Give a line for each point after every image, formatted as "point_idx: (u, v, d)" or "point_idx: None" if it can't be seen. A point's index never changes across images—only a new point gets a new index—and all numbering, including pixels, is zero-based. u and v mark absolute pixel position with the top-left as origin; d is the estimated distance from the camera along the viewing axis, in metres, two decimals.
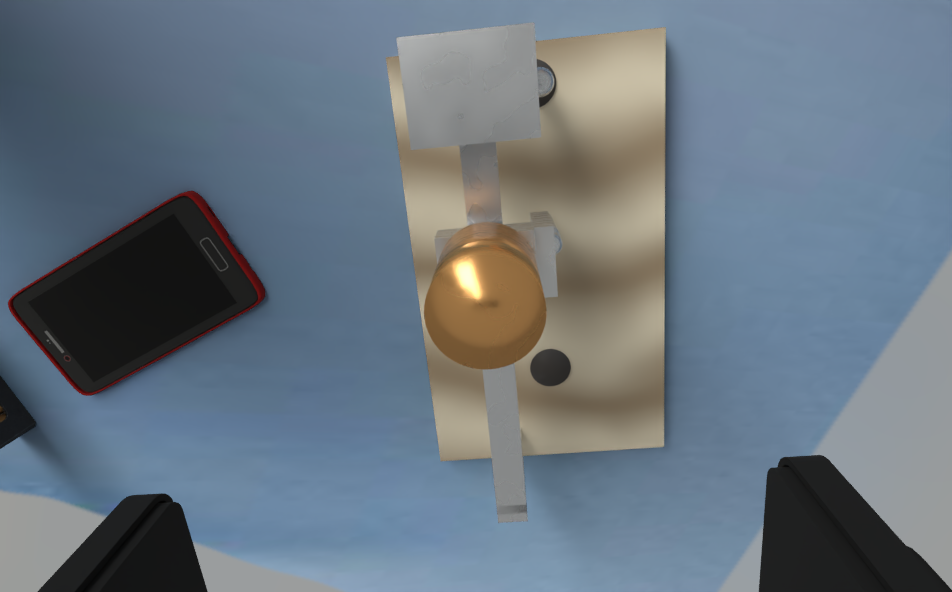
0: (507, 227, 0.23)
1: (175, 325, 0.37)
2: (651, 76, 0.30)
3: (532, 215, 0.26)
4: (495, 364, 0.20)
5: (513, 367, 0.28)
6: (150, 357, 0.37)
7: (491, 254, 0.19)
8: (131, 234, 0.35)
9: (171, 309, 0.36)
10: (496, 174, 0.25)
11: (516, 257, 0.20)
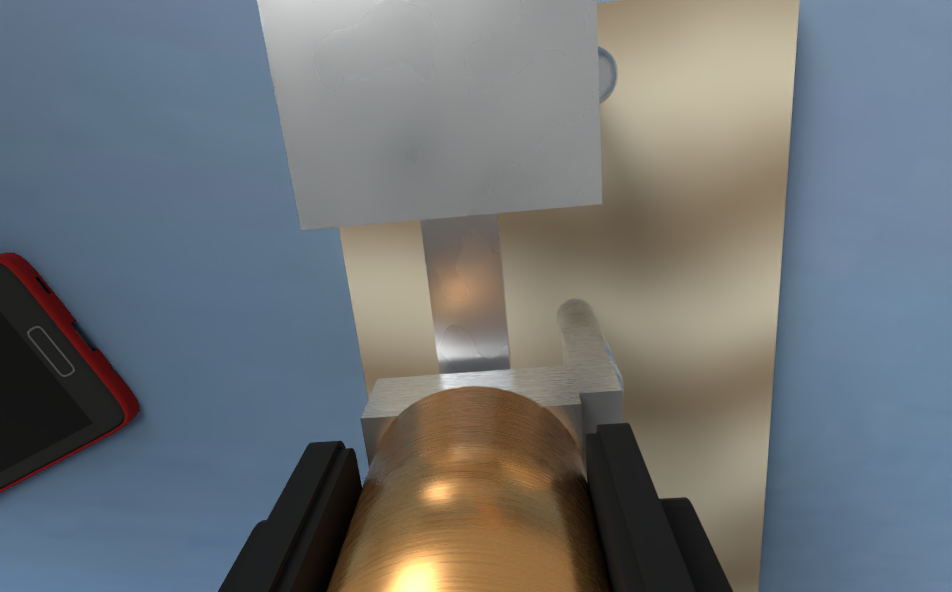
0: (521, 401, 0.10)
1: (1, 454, 0.24)
2: (770, 69, 0.17)
3: (568, 339, 0.13)
4: None
5: None
6: None
7: None
8: None
9: None
10: (497, 269, 0.12)
11: (555, 591, 0.07)
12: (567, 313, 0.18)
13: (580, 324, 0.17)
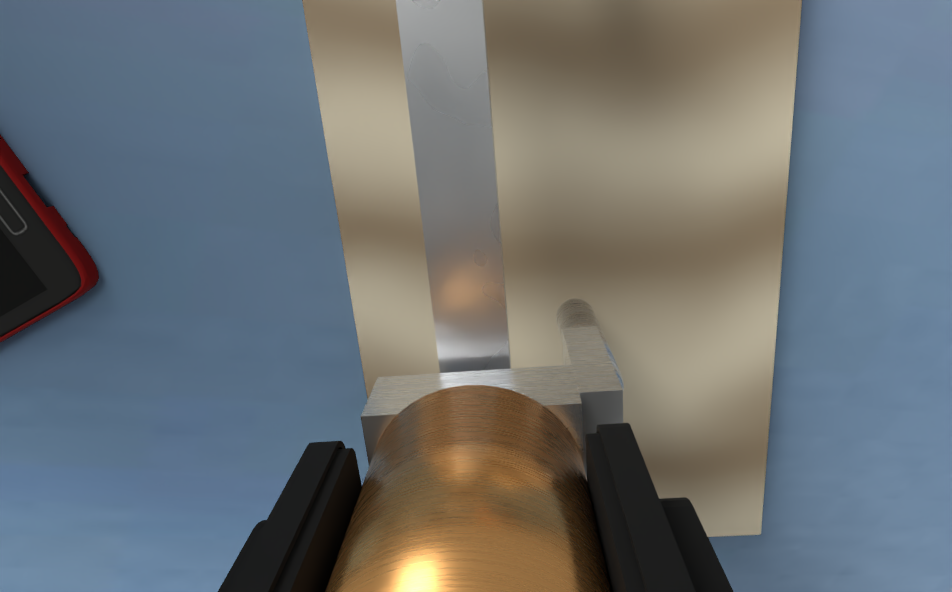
0: (522, 401, 0.10)
1: None
2: None
3: (568, 339, 0.13)
4: None
5: None
6: None
7: None
8: None
9: None
10: None
11: (555, 590, 0.07)
12: (567, 313, 0.18)
13: (581, 323, 0.17)
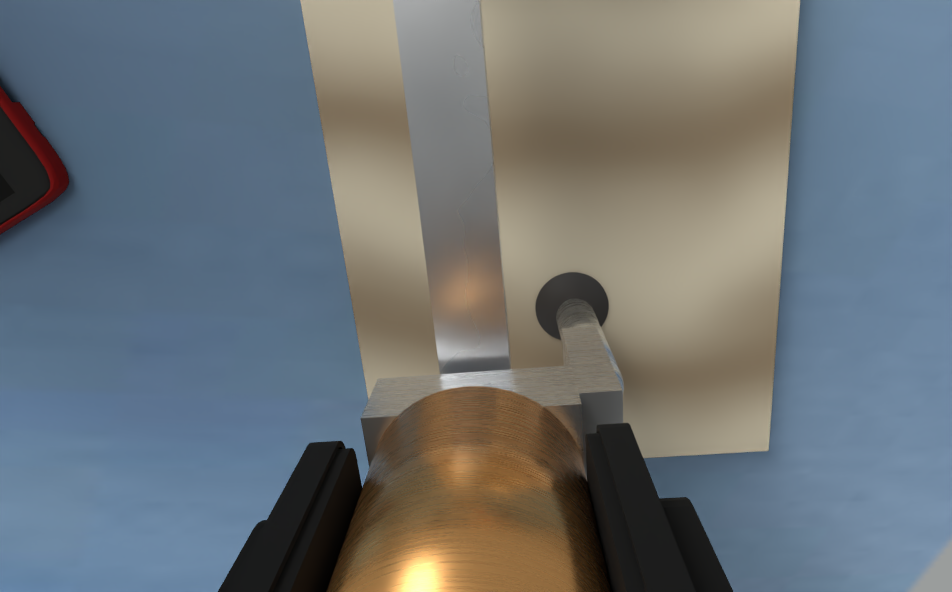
0: (521, 401, 0.10)
1: None
2: None
3: (568, 339, 0.13)
4: None
5: (498, 265, 0.12)
6: None
7: None
8: None
9: None
10: None
11: (555, 591, 0.07)
12: (567, 313, 0.18)
13: (581, 324, 0.17)
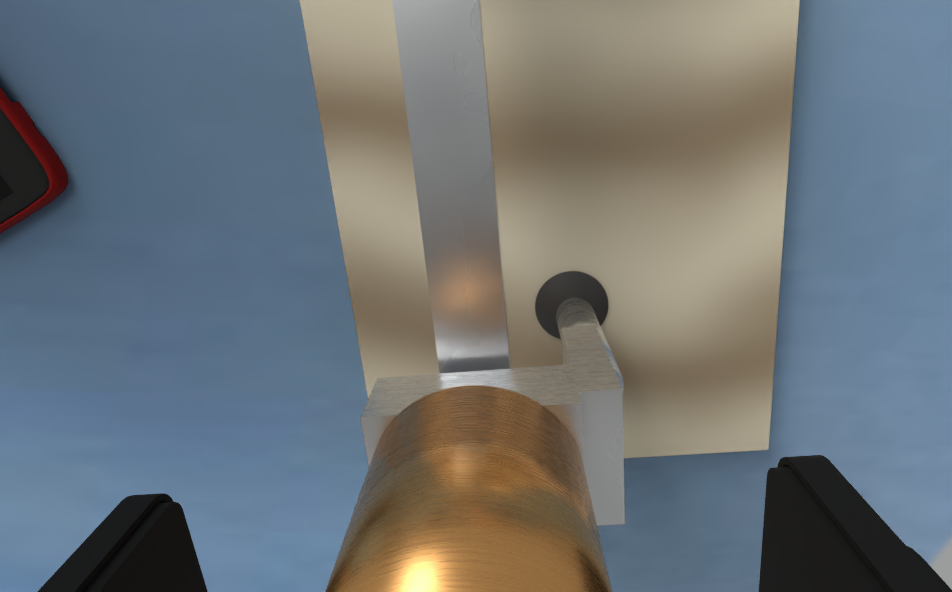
0: (521, 401, 0.10)
1: None
2: None
3: (568, 338, 0.13)
4: None
5: (498, 263, 0.12)
6: None
7: None
8: None
9: None
10: None
11: (555, 590, 0.07)
12: (567, 312, 0.18)
13: (581, 323, 0.17)
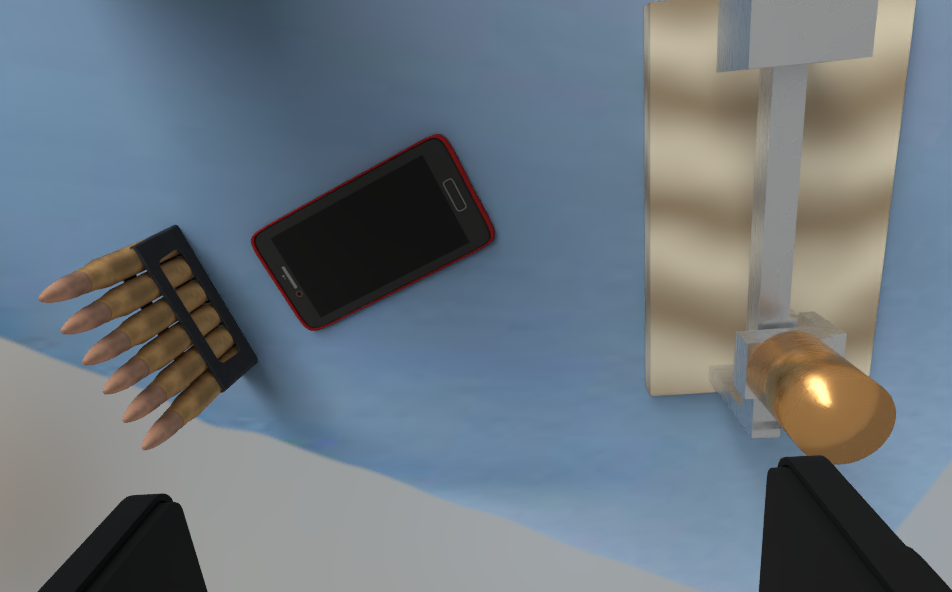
0: (814, 336, 0.28)
1: (407, 263, 0.39)
2: (900, 20, 0.32)
3: (806, 316, 0.31)
4: (844, 460, 0.25)
5: (790, 285, 0.30)
6: (378, 294, 0.40)
7: (858, 377, 0.24)
8: (379, 174, 0.37)
9: (406, 247, 0.38)
10: (804, 97, 0.27)
11: None
12: None
13: (790, 311, 0.34)
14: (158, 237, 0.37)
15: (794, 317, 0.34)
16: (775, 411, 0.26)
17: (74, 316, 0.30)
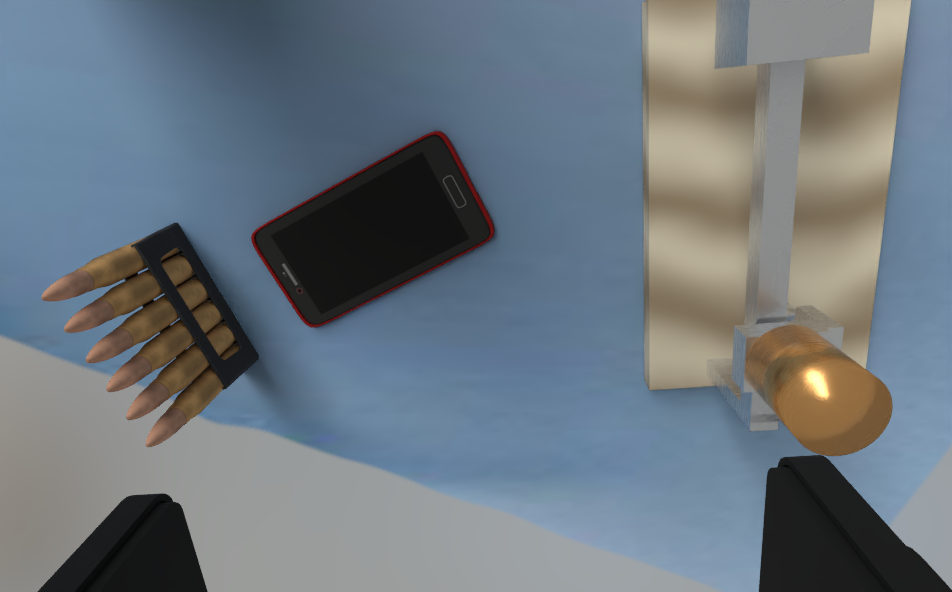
0: (811, 330, 0.28)
1: (407, 260, 0.39)
2: (896, 16, 0.32)
3: (803, 310, 0.31)
4: (841, 452, 0.25)
5: (788, 279, 0.30)
6: (379, 290, 0.40)
7: (855, 369, 0.24)
8: (379, 171, 0.37)
9: (406, 244, 0.39)
10: (801, 93, 0.27)
11: (865, 369, 0.25)
12: None
13: (788, 305, 0.35)
14: (159, 235, 0.37)
15: (791, 311, 0.34)
16: (774, 404, 0.26)
17: (77, 314, 0.30)
